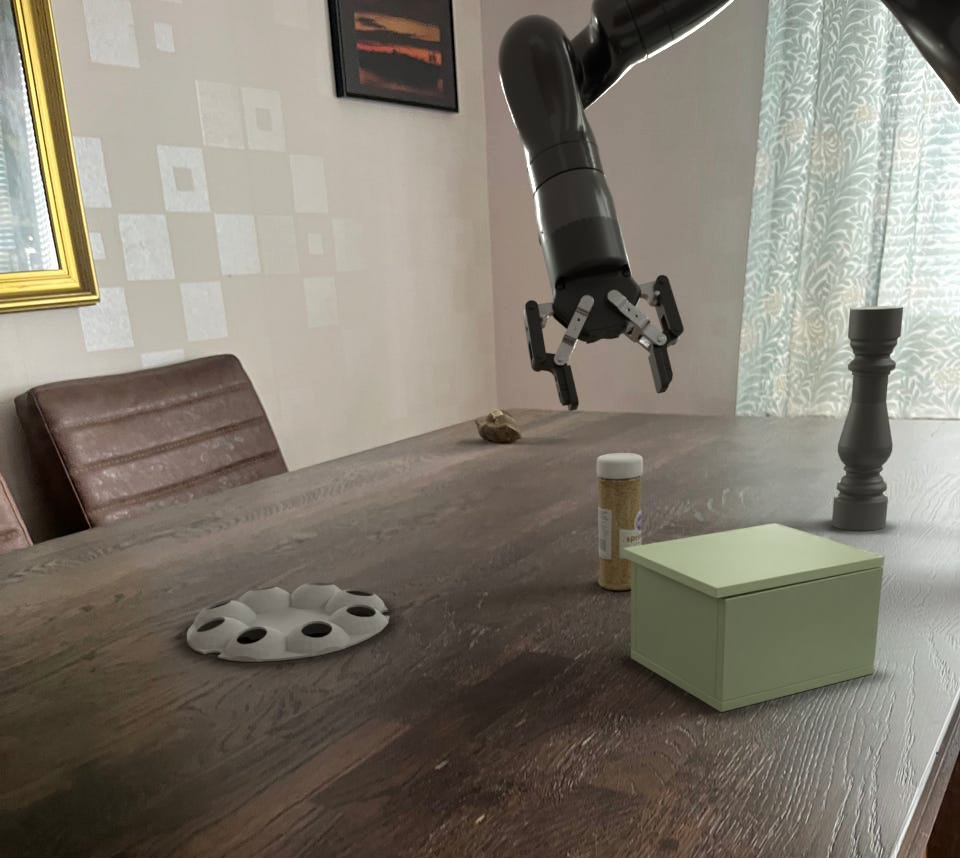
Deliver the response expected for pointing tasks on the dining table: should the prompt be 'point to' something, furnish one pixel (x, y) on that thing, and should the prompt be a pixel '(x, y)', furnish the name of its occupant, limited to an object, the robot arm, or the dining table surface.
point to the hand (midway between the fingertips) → (619, 399)
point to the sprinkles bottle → (618, 516)
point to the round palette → (287, 623)
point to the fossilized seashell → (499, 427)
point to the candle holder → (867, 420)
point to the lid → (750, 559)
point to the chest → (755, 635)
